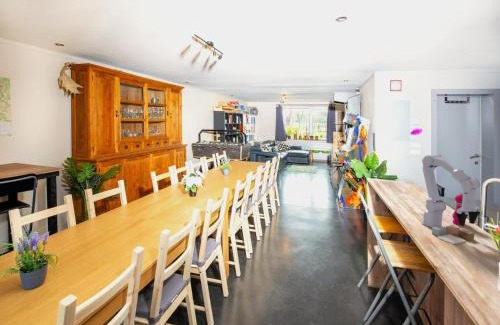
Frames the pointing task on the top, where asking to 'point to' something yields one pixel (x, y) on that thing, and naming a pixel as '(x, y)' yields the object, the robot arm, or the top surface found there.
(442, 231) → the slate block
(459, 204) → the pepper mill
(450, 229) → the terracotta block
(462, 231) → the walnut block
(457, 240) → the grey tile
